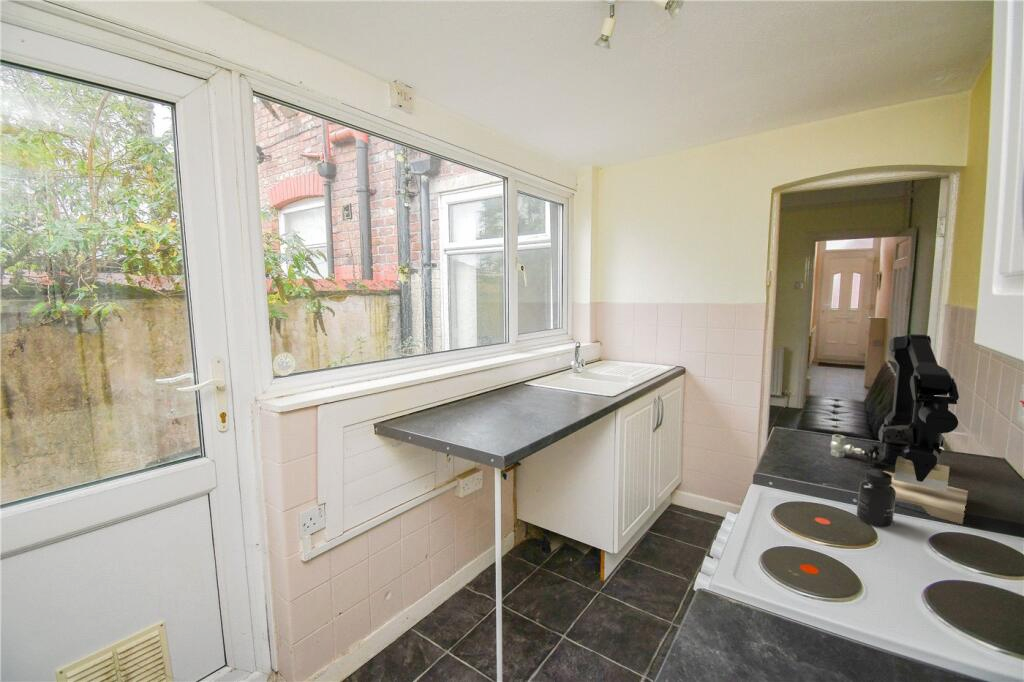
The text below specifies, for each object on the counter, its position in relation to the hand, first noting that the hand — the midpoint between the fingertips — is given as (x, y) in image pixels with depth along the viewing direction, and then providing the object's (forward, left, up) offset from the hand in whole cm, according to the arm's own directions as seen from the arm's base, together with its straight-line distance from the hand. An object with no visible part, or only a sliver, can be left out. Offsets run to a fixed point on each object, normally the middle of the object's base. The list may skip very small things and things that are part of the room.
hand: (920, 477), depth 115 cm
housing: (0, 0, -1) cm, 1 cm away
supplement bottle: (+20, -6, -6) cm, 22 cm away
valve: (-18, -18, -6) cm, 26 cm away
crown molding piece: (0, 0, -6) cm, 6 cm away
